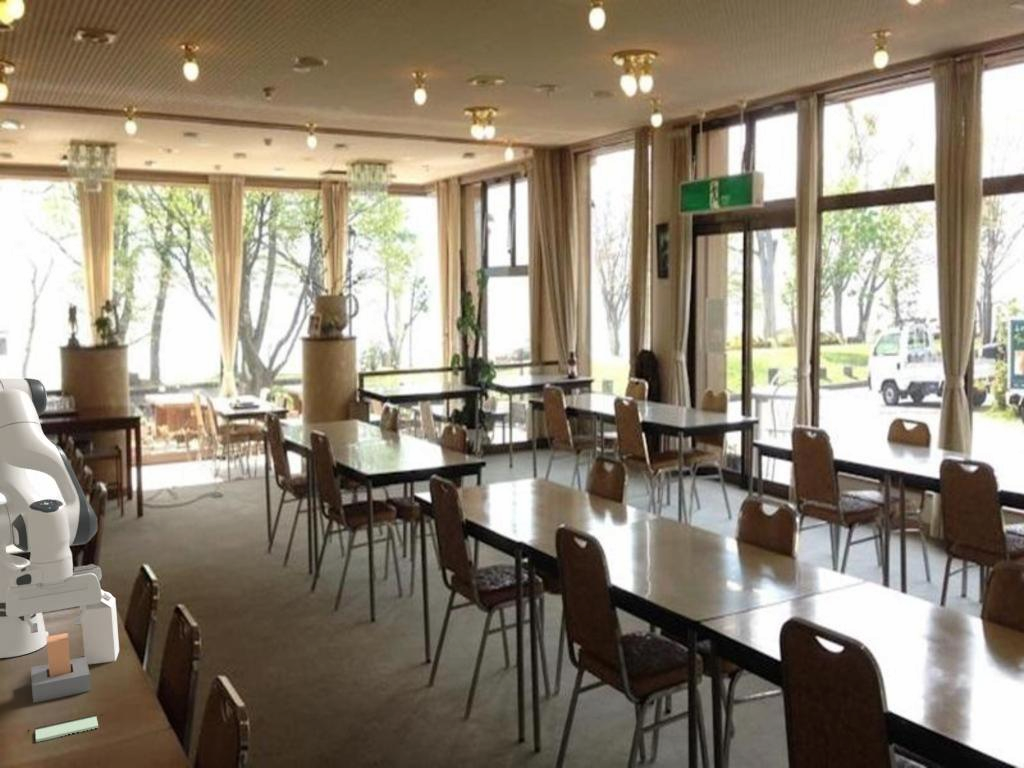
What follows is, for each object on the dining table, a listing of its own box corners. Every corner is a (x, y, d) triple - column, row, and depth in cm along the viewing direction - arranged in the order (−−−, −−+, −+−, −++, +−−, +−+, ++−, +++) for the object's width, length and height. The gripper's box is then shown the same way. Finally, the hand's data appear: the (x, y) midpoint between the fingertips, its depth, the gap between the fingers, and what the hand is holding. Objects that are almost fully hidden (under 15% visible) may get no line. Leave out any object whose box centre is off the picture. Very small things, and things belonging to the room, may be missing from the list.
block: (50, 685, 219) (46, 636, 218) (71, 681, 221) (67, 632, 220) (51, 692, 215) (46, 643, 214) (72, 688, 217) (68, 639, 216)
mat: (34, 711, 207) (34, 709, 207) (92, 699, 213) (92, 697, 213) (36, 742, 193) (35, 739, 193) (98, 728, 199) (98, 725, 199)
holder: (32, 687, 221) (30, 667, 220) (87, 676, 226) (86, 656, 226) (33, 706, 210) (31, 685, 210) (91, 694, 216) (89, 674, 215)
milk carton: (85, 668, 231) (79, 594, 229) (90, 657, 238) (84, 586, 236) (115, 664, 233) (110, 591, 231) (119, 654, 239) (114, 583, 237)
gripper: (99, 559, 222) (104, 615, 224) (2, 574, 213) (8, 632, 214) (101, 565, 217) (106, 623, 218) (2, 581, 207) (8, 641, 209)
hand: (57, 628), depth 216 cm, fingers open, 8 cm apart
